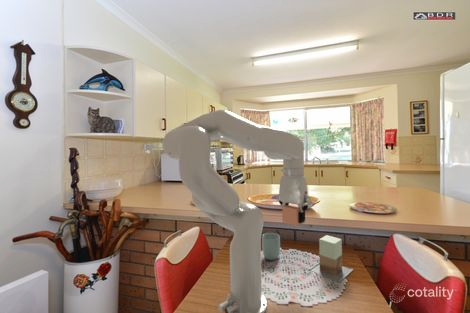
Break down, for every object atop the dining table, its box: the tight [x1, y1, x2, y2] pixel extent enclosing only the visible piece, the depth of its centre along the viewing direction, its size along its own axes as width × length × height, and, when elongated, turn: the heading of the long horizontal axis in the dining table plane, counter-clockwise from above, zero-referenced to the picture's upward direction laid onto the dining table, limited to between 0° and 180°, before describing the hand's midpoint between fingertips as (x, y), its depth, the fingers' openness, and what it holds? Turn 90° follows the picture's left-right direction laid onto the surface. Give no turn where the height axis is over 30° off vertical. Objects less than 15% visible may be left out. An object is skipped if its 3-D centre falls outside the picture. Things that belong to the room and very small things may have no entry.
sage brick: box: [318, 234, 343, 260], centre depth 86 cm, size 6×6×6 cm
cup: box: [261, 232, 281, 261], centre depth 98 cm, size 8×8×10 cm
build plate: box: [308, 260, 354, 283], centre depth 86 cm, size 12×12×1 cm
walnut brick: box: [319, 254, 343, 276], centre depth 86 cm, size 6×6×6 cm
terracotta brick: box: [281, 203, 306, 227], centre depth 83 cm, size 6×6×6 cm
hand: (293, 219), depth 83 cm, fingers closed on terracotta brick, 6 cm apart
